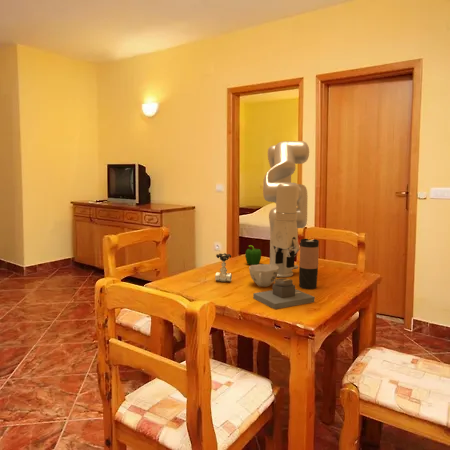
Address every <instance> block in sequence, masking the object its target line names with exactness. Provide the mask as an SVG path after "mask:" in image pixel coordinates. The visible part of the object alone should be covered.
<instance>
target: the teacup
mask: <svg viewBox="0 0 450 450" xmlns="http://www.w3.org/2000/svg"><path fill="white" fill-rule="evenodd" d="M278 270H279V267H278V266H275V265H271V264H270V263H267V264H265V263H261V264H260V263H259V264H258V265H249V267H248V271H249V275H250V277H251V280H252V281H253V282H254V283H255V284H256V285H257V286H258V287H261V288H262V287H264V288H266V287H270V286H271V285H273V284H274V283H275V280H276V279H277V278H278V277H277V275H278Z"/></svg>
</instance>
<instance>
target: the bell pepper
mask: <svg viewBox="0 0 450 450" xmlns="http://www.w3.org/2000/svg"><path fill="white" fill-rule="evenodd" d="M248 247H249V248H247V249H246V250H245V254H244V255H245V260H246V263H247V265H249V266H251V265H258V264H260V263H261V259H262V251H261V249H259V248H255V247H254V246H253V245H251V244H250V245H248Z"/></svg>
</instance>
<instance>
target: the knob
mask: <svg viewBox="0 0 450 450" xmlns="http://www.w3.org/2000/svg"><path fill="white" fill-rule="evenodd" d="M295 289H296V284H294V280H292V279H290V278H287V277H278V278H276V279H275V281H274V282H273V283H272V290H273V292H272V294H274V295H276V296H278V297H280V298H286V297H291V296H295Z"/></svg>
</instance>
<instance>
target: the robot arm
mask: <svg viewBox="0 0 450 450" xmlns="http://www.w3.org/2000/svg"><path fill="white" fill-rule="evenodd" d="M309 158H310V148H309V145H308V143H307V142H306V141H303V140H302V141H301V140H300V141H298V140H297V141H296V140H284V141H280V142H278V143H276V144H273V145H271V146H269V147H268V149H267V160H268V164H269V166H270V167H269V169H268V170H267V172H266V173H265V175H264V177H263V183H262V184H263V186H262V195H263V199H264V200H265V201H267V202H269V203H275V207H273V208H271V209H270V210H269V212H268V220H269V230H270V231H269V233H270V234H269V239H270V240H269V265H270V264H271V265H275V266H278V267H279V270H278V275H277V277H276V278H288V277H292V276H293V275H294V272H293V270H298V269H299V265H298V264H295V257H297V254H298V252H300V246H299V244H298V241H299V240H298V238H299V236H298V229H304V228H306V227H307V225H308V189H307V187H306V186H305V185H304V184H301V183H296V182H292V175H293V174H294V173H295V171H296V165H299V164H302V165H303V164H305V163H306V162H307V161H308V159H309Z"/></svg>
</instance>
